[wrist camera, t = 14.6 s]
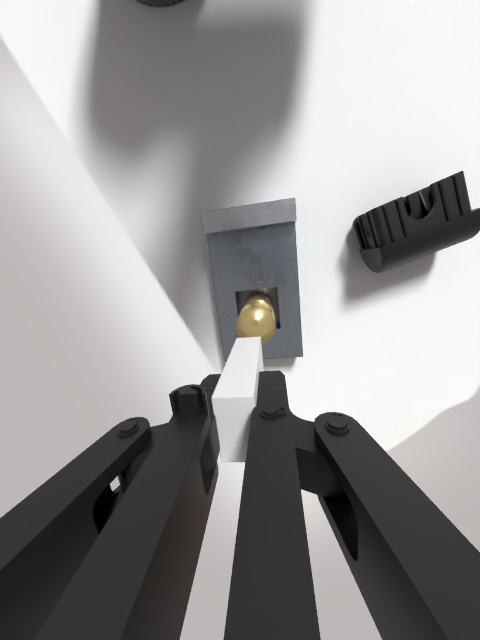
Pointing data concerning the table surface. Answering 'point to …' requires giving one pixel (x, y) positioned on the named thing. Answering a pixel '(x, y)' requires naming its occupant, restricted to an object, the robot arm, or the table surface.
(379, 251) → the end cap
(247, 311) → the brass cylinder rod
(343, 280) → the table surface
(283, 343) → the jig
